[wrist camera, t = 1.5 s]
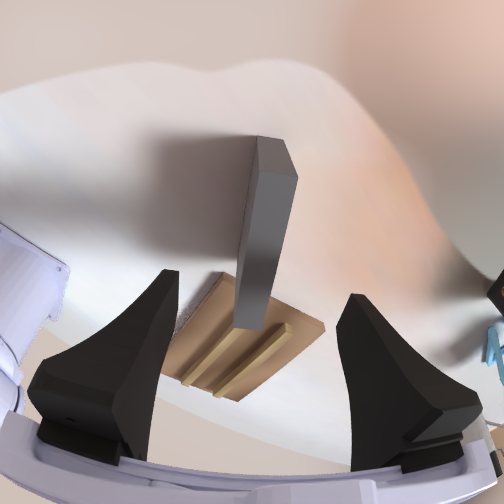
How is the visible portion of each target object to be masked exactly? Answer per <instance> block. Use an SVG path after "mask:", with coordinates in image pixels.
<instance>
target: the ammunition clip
mask: <svg viewBox="0 0 504 504" xmlns="http://www.w3.org/2000/svg"><path fill="white" fill-rule="evenodd" d="M487 296H488V298H489V299H490V300H491V301H492V303H493V304H494V305H495V306H496V308H497V309H498V310H499V312H500V313H501V314H502V315H503V317H504V270H503V271H502V273H501V274H500V276H499V277H498V278H497V280H496V282H495V283H494V284H493V286H492V287H491V289H490V290H489V291H488V293H487Z"/></svg>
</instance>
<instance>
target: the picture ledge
mask: <svg viewBox="0 0 504 504" xmlns="http://www.w3.org/2000/svg"><path fill="white" fill-rule="evenodd" d="M235 287H236V278H235V277H233V276H231V275H229V274H227V273H225V272H224V273H223V274H222V275H221V277H220V278H219V279H218V281H217V282H216V283H215V284H214V286H213V287H212V288H211V290H210V291H209V292H208V294H207V295H206V296H205V298H204V299H203V300H202V301H201V303H200V304H199V305H198V307H197V308H196V309H195V311H194V312H193V313H192V315H191V316H190V317H189V319H188V320H187V321H186V322H185V324H184V325H183V326H182V328H181V329H180V330H179V332H178V333H177V334H176V336H175V337H174V338H173V340H172V341H171V342H170V344H169V347H168V350H167V353H166V356H165V360H164V363H163V366H162V369H161V372H160V373H162V374H164V375H166V376H169V377H171V378H174V379H176V380H179V381H181V384H182V385H184V386H187V387H188V386H189V385H191V386H194V387H197V388H199V389H202V390H205V391H207V392H210V393H213V396H214V397H217V398H221V397H224V398H227V399H230V400H233V401H236V402H239V401H240V400H241V399H243V398H244V397H245V396H247V395H248V394H249V393H251V392H252V391H253V390H255V389H256V388H257V387H258V386H260V385H261V384H262V383H264V382H265V381H266V380H267V379H269V378H270V377H271V376H273V375H274V374H275V373H276V372H278V371H279V370H280V369H281V368H283V367H284V366H285V365H286V364H288V363H289V362H290V361H291V360H292V359H294V358H295V357H296V356H297V355H298V354H300V353H301V352H302V351H303V350H304V349H306V348H307V347H308V346H309V345H310V344H311V343H313V342H314V341H315V340H316V339H317V338H318V337H320V336H321V335H322V334H323V333H324V332H325V327H324V323H323V322H321V321H319V320H317V319H315V318H313V317H311V316H309V315H307V314H305V313H303V312H301V311H299V310H297V309H295V308H293V307H291V306H289V305H287V304H285V303H283V302H281V301H279V300H277V299H275V298H273V297H271V296H270V298H269V302H268V306H267V310H266V314H265V318H264V322H263V326H262V330H261V331H258V330H248V329H239V328H233V317H234V302H235Z"/></svg>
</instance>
